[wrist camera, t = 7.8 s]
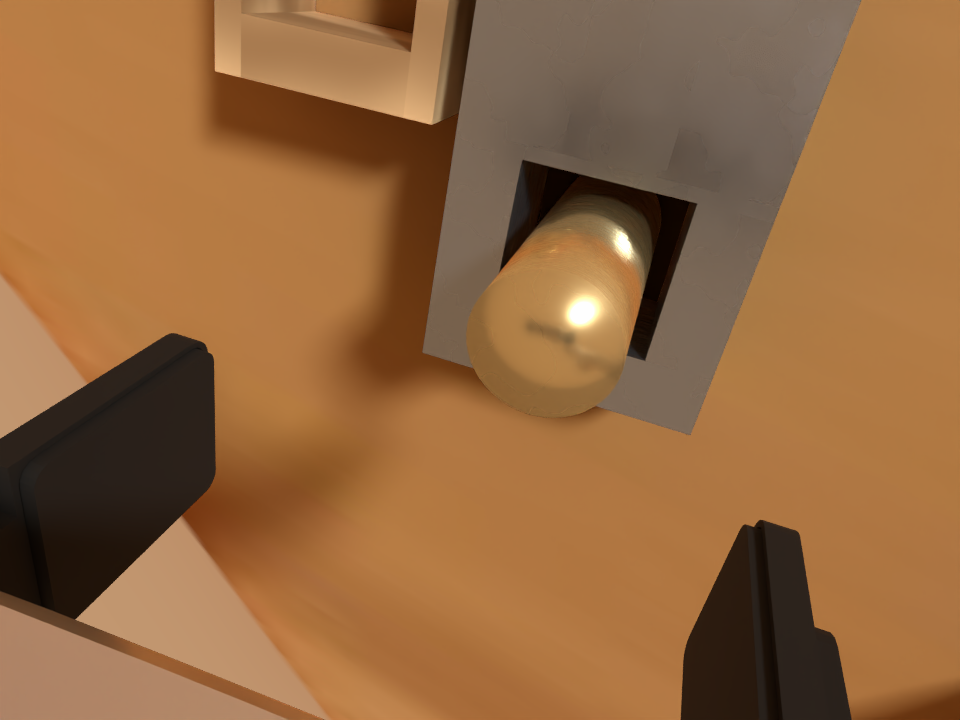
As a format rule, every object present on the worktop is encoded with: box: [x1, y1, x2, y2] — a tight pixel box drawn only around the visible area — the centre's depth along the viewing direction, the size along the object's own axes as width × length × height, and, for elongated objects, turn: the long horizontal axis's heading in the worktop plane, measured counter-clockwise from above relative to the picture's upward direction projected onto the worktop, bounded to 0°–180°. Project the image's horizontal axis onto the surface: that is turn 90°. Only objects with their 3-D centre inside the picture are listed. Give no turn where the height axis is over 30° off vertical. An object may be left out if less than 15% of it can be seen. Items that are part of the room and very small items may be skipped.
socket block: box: [422, 0, 861, 435], centre depth 24 cm, size 14×10×6 cm
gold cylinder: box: [466, 175, 661, 418], centre depth 23 cm, size 4×4×12 cm
